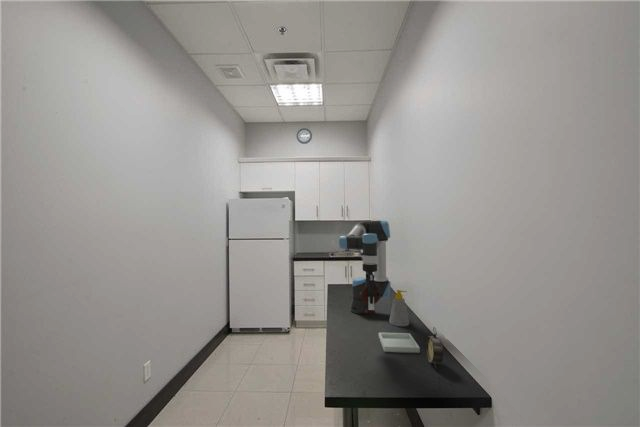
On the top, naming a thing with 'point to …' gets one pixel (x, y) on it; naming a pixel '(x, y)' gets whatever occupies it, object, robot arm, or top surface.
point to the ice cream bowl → (365, 299)
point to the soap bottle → (399, 311)
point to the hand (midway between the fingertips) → (369, 306)
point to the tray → (398, 342)
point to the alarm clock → (434, 349)
